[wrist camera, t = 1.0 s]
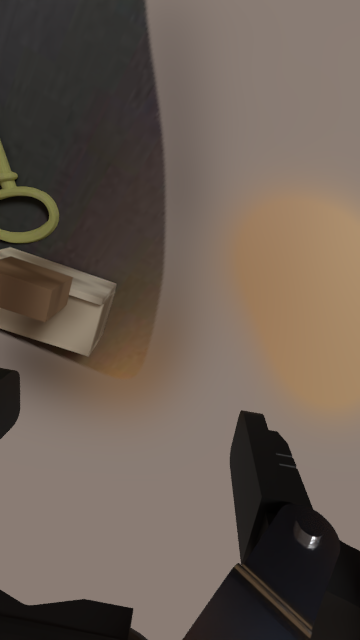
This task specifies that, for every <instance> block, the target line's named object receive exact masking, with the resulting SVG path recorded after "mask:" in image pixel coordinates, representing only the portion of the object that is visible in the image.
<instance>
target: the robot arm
mask: <svg viewBox="0 0 360 640" xmlns="http://www.w3.org/2000/svg"><path fill="white" fill-rule="evenodd" d="M19 412H20V377H19V373H18V372H17V371H15V370H9V369H3V368H0V439H1V438H2V437H3V436H4V435H5V434H6V433H7V432H8V431H9V430H10V428H12V426H13V425H14V424H15V422H16V421H17V419H18V416H19ZM230 469H231V479H232V487H233V497H234V505H235V513H236V522H237V532H238V541H239V549H240V558H241V565H242V566H241V565H240V564H239V563H238V564H236V565H235V566H234V567H233V568H232V570H231V571H230V573H229V574H228V575H227V577H226V578H225V580H224V581H223V582H222V584H221V585H220V587H219V588H218V590H217V591H216V592H215V594H214V595H213V597H212V598H211V599H210V601H209V602H208V604H207V605H206V607H205V608H204V610H203V611H202V612H201V614H200V615H199V617H198V618H197V619H196V621H195V622H194V624H193V625H192V627H191V628H190V629H189V631H188V632H187V634H186V635H185V637H184V638H183V639H182V640H360V551H359V550H357V549H355V548H353V547H350V546H349V545H346V544H345V543H343V542H342V541H340V540H339V538H338V535H337V533H336V531H335V530H334V528H333V527H332V525H331V524H330V523H329V522H328V521H327V520H326V519H325V518H324V517H323V516H322V515H321V514H319V513H318V512H317V511H315V510H313V508H312V505H311V503H310V500H309V498H308V495H307V492H306V490H305V487H304V485H303V482H302V480H301V477H300V474H299V472H298V469H296V464H295V462H294V459H293V458H292V454H291V451H290V449H289V446H288V444H287V442H286V441H285V440H284V439H283V438H282V437H281V436H280V435H279V433H278V432H277V431H270V430H268V427H267V424H266V421H265V418H264V415H263V414H259V413H254V412H248V411H241V412H240V414H239V418H238V422H237V426H236V430H235V434H234V438H233V442H232V446H231V452H230ZM132 614H133V608H128V607H123V606H117V605H112V604H107V603H102V602H97V601H91V600H86V599H82V600H73V601H65V602H57V603H48V604H40V605H25V604H23V603H20V602H19V601H18V600H16V599H14V598H13V597H11V596H10V595H8V594H6V593H5V592H3V591H1V590H0V640H147V639H146V638H145V637H144V636H143V635H141V634H140V633H138V632H137V631H135V630H134V629H132V628H130V627H131V620H132Z"/></svg>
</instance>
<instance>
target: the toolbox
mask: <svg viewBox="0 0 360 640" xmlns="http://www.w3.org/2000/svg"><path fill="white" fill-rule="evenodd" d="M114 294H115V291H113V293H112V294H111V295H110V296H109V297H108V298H107V300H106V301H105V302H104V303H103V304H102V305H98V304H95V303H92V302H89V301H86V300H83V299H80V298H77V297H74V296H71V295H69V297H68V301H67V305H66V306H65V307H64V308H62V309H61V310H60V311H59V312H57V313H56V314H55V315H54V316H53V317H51V318H50V319H49V320H48V321H47V322H43V321H40V320H36V319H33V318H30V317H27V316H24V315H21V314H18V313H15V312H12V311H9V310H6V309H2V308H0V329H3V330H7V331H10V332H13V333H16V334H19V335H22V336H25V337H29V338H32V339H35V340H38V341H41V342H44V343H48V344H51V345H54V346H57V347H60V348H63V349H67V350H70V351H73V352H76V353H79V354H82V355H86V356H89V355H90V354H91V352H92V351H93V349H94V347H95V346H96V344H97V343H98V341H99V340H100V338H101V337H102V335H103V333H104V329H105V326H106V322H107V319H108V315H109V312H110V308H111V305H112V301H113V298H114Z"/></svg>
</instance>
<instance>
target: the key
mask: <svg viewBox="0 0 360 640" xmlns="http://www.w3.org/2000/svg"><path fill="white" fill-rule="evenodd" d="M17 178H18V175H17V174H16V173H14V172H11V169H10V166H9V163H8V160H7V157H6V155H5V152H4V149H3V146H2V143H1V140H0V184H1V187H2V189H0V200H2V199H5V198H8V197H13V196H30V197H34V198H37V199H39V200H40V201H42V202H43V203H44V204H45V205H46V207H47V209H48V211H49V220H48V221H47V222H46V223H45V224H44V225H42V226H41V227H39V228H37V229H35V230H32V231H28V232H20V233H19V232H8V231H4V230H1V229H0V239H1V240H4V241H7V242H11V243H30V242H35V241H39V240H42V239H44V238H46V237H47V236H48V235H50V234H51V233H52V232H53V231H54V230H55V228H56V227H57V224H58V221H59V212H58V208H57V205H56V203H55V202H54V200H53V199H52V198H51V197H50V196H49V195H48V194H46V193H45V192H43V191H40V190H38V189H35V188H31V187H17V186H16V183H15V181H14V180H15V179H17Z"/></svg>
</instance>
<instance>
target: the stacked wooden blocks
mask: <svg viewBox="0 0 360 640" xmlns="http://www.w3.org/2000/svg"><path fill="white" fill-rule="evenodd" d="M116 285H117V284H116V283H113V282H110V281H107V280H104V279H101V278H99V277H96V276H93V275H90V274H87V273H84V272H81V271H78V270H75V269H72V268H69V267H67V266H64V265H61V264H58V263H55V262H52V261H49V260H46V259H43V258H40V257H38V256H35V255H32V254H29V253H26V252H23V251H20V250H17V249H14V248H11V247H10V248H6V249H1V250H0V308H2V309H6V310H9V311H12V312H15V313H18V314H21V315H24V316H27V317H30V318H33V319H36V320H40V321H43V322H47V321H48V320H49V319H50V318H51V317H53V316H54V315H55V314H56V313H57V312H59V311H60V310H61V309H62V308H64V307H65V306H66V305H67V301H68V297H69V295H71V296H74V297H77V298H80V299H83V300H86V301H89V302H92V303H95V304H98V305H102V304H103V303H104V302H105V301H106V300H107V298H108V297H109V296H110V295H111V294H112V293H113V291H114V290H115V289H116Z"/></svg>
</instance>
